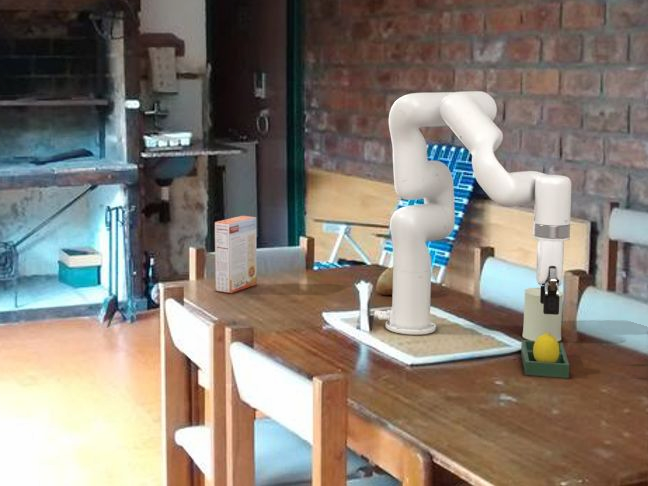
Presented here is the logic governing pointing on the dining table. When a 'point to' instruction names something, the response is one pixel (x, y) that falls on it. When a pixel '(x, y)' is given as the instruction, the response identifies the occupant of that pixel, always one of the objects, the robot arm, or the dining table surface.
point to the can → (540, 317)
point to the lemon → (546, 349)
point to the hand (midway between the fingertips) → (549, 308)
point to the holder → (544, 368)
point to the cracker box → (235, 254)
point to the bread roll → (385, 282)
